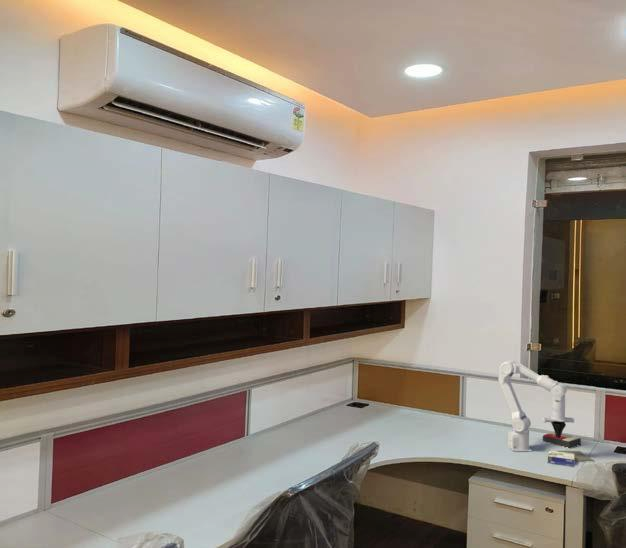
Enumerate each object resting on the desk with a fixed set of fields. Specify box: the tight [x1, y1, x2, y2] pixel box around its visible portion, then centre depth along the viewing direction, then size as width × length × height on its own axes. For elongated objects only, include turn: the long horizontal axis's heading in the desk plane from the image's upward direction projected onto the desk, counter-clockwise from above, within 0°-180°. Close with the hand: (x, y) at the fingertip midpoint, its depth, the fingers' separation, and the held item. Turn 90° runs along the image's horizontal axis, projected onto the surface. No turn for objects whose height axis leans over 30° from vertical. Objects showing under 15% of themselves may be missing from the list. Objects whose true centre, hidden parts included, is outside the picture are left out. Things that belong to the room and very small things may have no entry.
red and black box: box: [542, 431, 582, 449], centre depth 291 cm, size 11×4×15 cm
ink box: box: [546, 450, 576, 467], centre depth 263 cm, size 12×2×12 cm
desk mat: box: [557, 450, 595, 462], centre depth 269 cm, size 11×14×1 cm
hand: (558, 437), depth 269 cm, fingers closed
